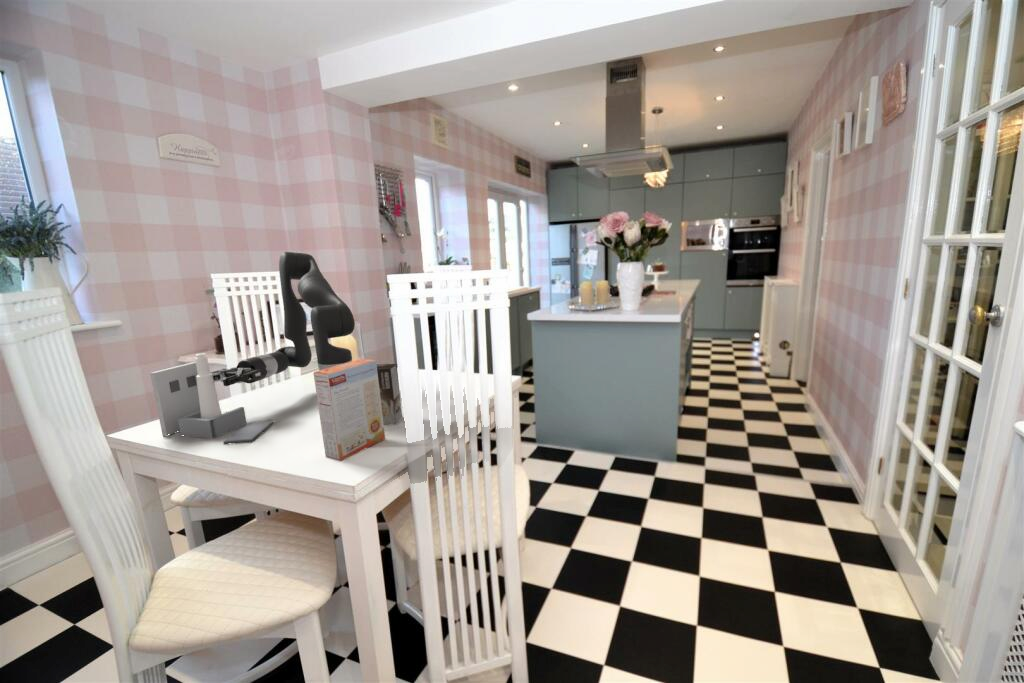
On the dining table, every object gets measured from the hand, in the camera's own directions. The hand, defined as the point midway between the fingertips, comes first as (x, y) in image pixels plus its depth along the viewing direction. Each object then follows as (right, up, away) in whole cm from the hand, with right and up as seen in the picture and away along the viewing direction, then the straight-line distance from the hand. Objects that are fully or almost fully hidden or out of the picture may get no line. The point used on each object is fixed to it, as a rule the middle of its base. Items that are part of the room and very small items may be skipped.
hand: (212, 382), depth 127 cm
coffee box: (+48, -11, +1) cm, 49 cm away
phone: (+13, -14, -3) cm, 19 cm away
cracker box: (+46, -15, -16) cm, 51 cm away
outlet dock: (-2, -13, +2) cm, 14 cm away
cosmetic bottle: (0, -14, +1) cm, 14 cm away
